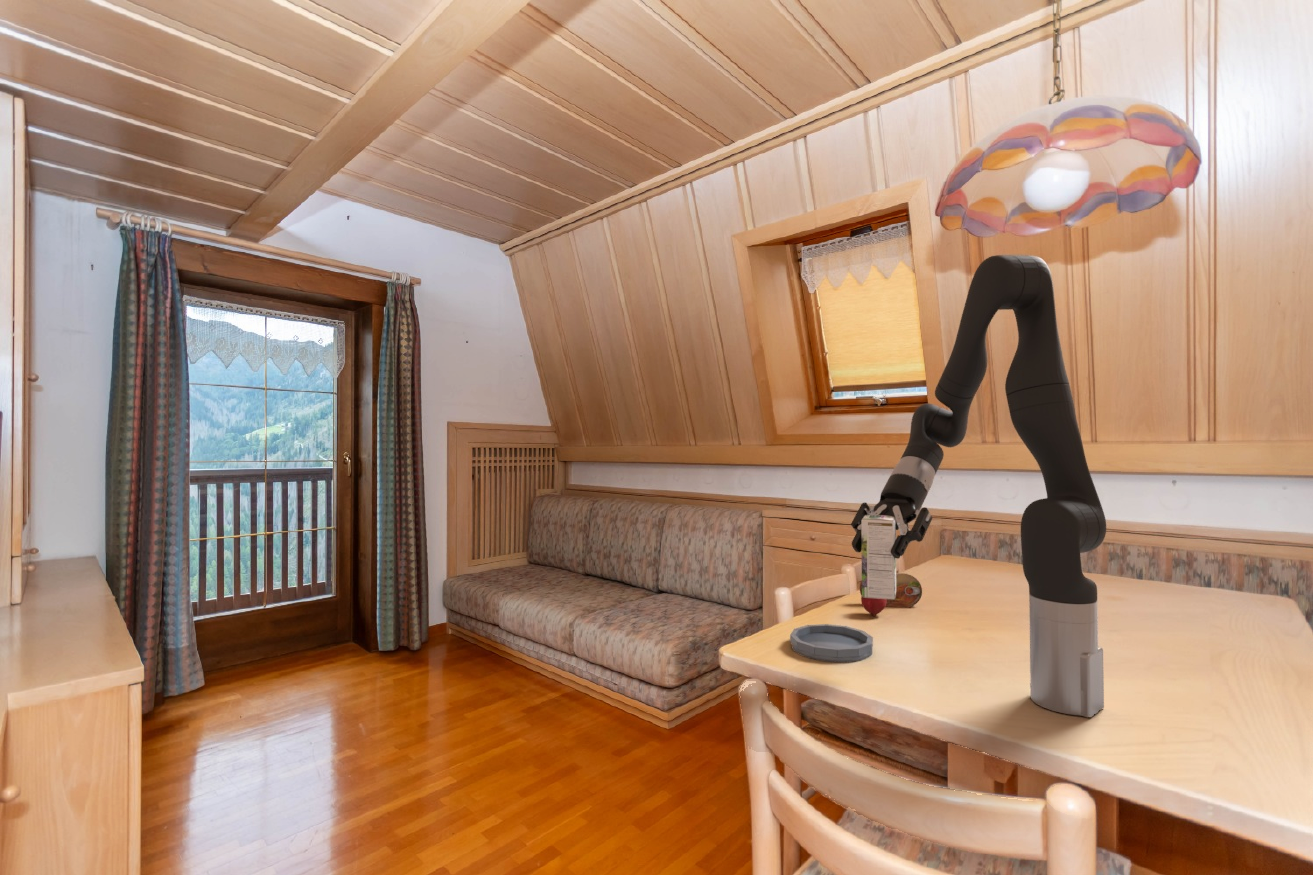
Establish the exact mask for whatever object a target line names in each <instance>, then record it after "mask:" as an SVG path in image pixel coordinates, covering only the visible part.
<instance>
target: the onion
mask: <svg viewBox="0 0 1313 875" xmlns="http://www.w3.org/2000/svg"><path fill="white" fill-rule="evenodd" d="M860 596H861V595H860ZM860 601H861V605H862V607H863V609H864V610H865V611H866V612H868V613H869V614H870V615H871V616H875V617H876V616H877V615H878V614H880V613H881V612H883V610H884V609H885V608H886V607H885V606H886V603H887V599H877V598H864V597H862V596H861V598H860Z"/></svg>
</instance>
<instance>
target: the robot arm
mask: <svg viewBox="0 0 1313 875" xmlns="http://www.w3.org/2000/svg"><path fill="white" fill-rule="evenodd" d="M1055 300H1056V299H1055V292H1054V284H1053V277H1052V273H1051V270H1050V267H1049V266H1048V264H1047V262H1046V261H1045V260H1044V259H1043V258H1041V257H1039V256H1036V255H1031V254H1030V255H1026V254H1025V255H1024V254H995V255H991V256H988V257H987V258H985V259H984V260H983V261H981V263H980V264H979V265H978V267H977V269H976V270H975V272H974V274H973V277H972V279H971V282H970V285H969V288H968V291H967V296H966V300H965V303H964V307H963V311H962V313H961V318H960V322H959V327H958V330H957V334H956V338H955V342H954V344H953V348H952V351H951V353H950V355H949V357H948V361H947V363H946V365H945V367H944V369H943V371H942V374H941V376H940V378H939V380H938V382H937V385H936V386H935V390H934V396H935V398H936V399H937V401H938V402H940V403H941V404H942V405H944V406H945V407H947V408H948V409H945V408H943V407H940V406H938V405H936V404H933V403H923V404H921V405H920V406H918V407H917V408H916V409H915V411H914V412H913V414H912V419H911V421H910V432H909V437H908V438H909V439H908V442H907V446H906V448H905V450H904V452H903V453H902V455H901V457H900V459H899V460H898V463H897V464H896V465H895V466H894V468H893V470H892V471H891V473H890V475H889V477H888V479H887V481H886V482H885V485H884V487H883V488H882V491H881V493H880V497H879V498H880V499H879V501H878V502H877V503H876V504H875V505H868V503H867V502H862V503H861V504H860V506H859V508H858V511H856V513H855V516H854V517H853V520H852V521H851V523H850V526H851V527H852V528H853V530H854V531H855V535H854V537H853V539H852V541H851V545H852V548H853V550H854V552H856V553H862V535H861V520H862V519H863V518H864V516H865V515H886V516H892V517H895V518H896V519H895V520H896V531H898V530H899V533H900V535H896V540H895V542H894V544H893V547H892V549H891V554H892V555H893V557H894V558H896V560H897V559H898V560H899V559H900V558H901V557H903V556H904V555H905V553H906V550H907V547H908V546H909V544H911V543H912V542H913V541H916V542H918V543H920V542H922V541H923V540H924V537H925V535H926V533H927V531H928V529H929V527H930V525H931V522H932V521H933V516H932V514H931V513H930V510H929V509H928V507H923V504H924V502H925V500H926V499H927V496H928V494H929V492H930V490H931V488H932V486H933V483H934V480H935V476H936V474H937V472H938V470H939V469H940V467H941V466H940V465H941V463H942V461H943V459H944V456H945V455H944V450H943V448H942V447H945V448H954V447H956V446H958V445H959V444H961V442H963V440H964V439H965V436H966V434H967V429H968V422H969V415H970V414H969V413H970V410H971V405H972V403H973V400H974V398H975V396H976V395H977V392H978V390H979V388H980V386H981V384H982V382H983V381H984V378H985V375H986V373H987V368H988V351H987V343H986V342H987V341H986V340H987V339H986V337H987V332H988V328H989V325H990V324H991V322H992V320H993V319H994V317H995V315H996V314H997V313H998V311H1000V310H1003V311H1005V310H1007V311H1008V310H1010V311H1011V310H1012V312H1013V313H1014V314H1013V315H1014V316H1015V322H1016V327H1017V334H1018V337H1017V338H1018V341H1017V347H1016V349H1015V350H1016V351H1015V353H1014V356H1013V358H1012V361H1011V364H1010V367H1009V368H1008V372H1007V375H1006V378H1005V382H1004V383H1005V384H1004V386H1005V388H1004V389H1005V396H1006V401H1007V406H1008V412H1009V415H1010V420H1011V423H1012V425H1013V427H1014V429H1015V431H1016V433H1017V434H1018V436H1019V438H1020V439H1021V441H1022V442H1023V444H1024V445H1025V446H1026V448H1027V449H1028V451H1029V453H1030V454H1031V455H1032V456H1033V458H1034V460H1035V461H1036V463H1037V465H1038V467H1039V469H1040V472H1041V474H1042V477H1043V481H1044V486H1045V491H1046V492H1045V493H1046V498H1040V499H1036V500H1034V501H1032V502H1031V503H1029V504H1028V505H1026V508H1025V509H1024V511H1023V513H1022V517H1021V521H1020V545H1021V546H1020V547H1021V560H1022V571H1023V574H1024V577H1025V579H1026V582H1027V584H1028V599H1029V600H1028V602H1029V604H1028V605H1029V606H1028V607H1029V610H1028V611H1029V613H1028V614H1029V616H1028V617H1029V673H1030V680H1029V681H1030V682H1029V685H1030V688H1029V689H1030V698H1031V701H1032V702H1034V703H1035V704H1037V705H1039V706H1040V707H1042V708H1045V709H1047V710H1050V711H1052V712H1057V713H1059V714H1060V713H1061V714H1066V715H1070V716H1081V717H1085V718H1088V717H1091V718H1092V717H1093V716H1095V715H1096V714H1097V713H1099V712H1100V711H1102V709H1104V708H1105V692H1104V691H1105V688H1104V686H1105V685H1104V684H1105V683H1104V682H1105V681H1104V678H1105V677H1104V676H1105V675H1104V648H1103V647H1102V646H1099V636H1098V635H1099V630H1098V629H1099V626H1098V625H1099V624H1098V623H1099V621H1098V619H1099V616H1098V615H1099V614H1098V610H1099V609H1098V587H1097V584H1096V582H1095V581H1094V580H1092V579H1091V578H1088V577H1086V576H1085V575H1084V574H1083V570H1082V561H1081V560H1082V559H1081V554H1082V553H1087V552H1091V551H1094V550H1096V549H1097V548H1099V547H1100V546H1101V545H1102V544H1103V541H1104V540H1105V538H1106V534H1107V521H1106V515H1105V512H1104V509H1103V506H1102V504H1101V500H1100V497H1099V494H1098V492H1097V490H1096V486H1095V484H1094V481H1093V478H1092V475H1091V472H1090V469H1089V466H1088V463H1087V458H1086V455H1085V450H1084V446H1083V440H1082V436H1081V432H1080V428H1079V424H1078V421H1077V416H1076V409H1075V403H1074V399H1073V395H1072V394H1073V393H1072V390H1071V386H1070V381H1069V379H1068V375H1067V371H1066V366H1065V362H1064V357H1063V351H1062V346H1061V341H1060V335H1059V334H1060V333H1059V328H1058V323H1057V322H1058V321H1057V314H1056V313H1057V312H1056V303H1055ZM941 446H942V447H941ZM914 520H915V521H914ZM913 521H914V523H913V525H912V527H911V529H910V525H909V524H910V523H912V522H913ZM1099 710H1100V711H1099ZM1098 711H1099V712H1098ZM1094 714H1095V715H1094Z"/></svg>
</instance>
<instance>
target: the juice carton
mask: <svg viewBox="0 0 1313 875" xmlns="http://www.w3.org/2000/svg"><path fill="white" fill-rule="evenodd" d="M895 519H896V518H895V517H892V516H886V515H865V516H864V518H863V519H862V520H861V535H862V550H861V581H862V597H864V598H877V599H895V595H896V573H897V558H894V557H893V555H892V554H891V549H892V547H893V544H894V542H895V540H896V538H897V530H896V520H895Z"/></svg>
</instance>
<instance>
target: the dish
mask: <svg viewBox="0 0 1313 875" xmlns="http://www.w3.org/2000/svg"><path fill="white" fill-rule="evenodd" d="M789 638H790V639H789V640H790V642H789V643H790V644H791V648H792V650H793V651H794V652H795V653H796V654H798V653H799V654H798V655H800V656H802V657H806V658H808V659H811V660H816V661H822V662H827V663H828V662H829V663H851V662H852V663H853V662H859V661H863V660H866V659H868V658H870V657H871V656H872V655H873V647H874V637H873V636H872V635H871V634H869V633H867V632H866V631H864V630H861V629H858V628H855V627H851V626H848V625H841V624H840V625H837V624H829V623H822V624H818V623H817V624H806V625H803V626H800V627H796V628H793V630H792V631H791V633H790V635H789Z"/></svg>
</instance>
